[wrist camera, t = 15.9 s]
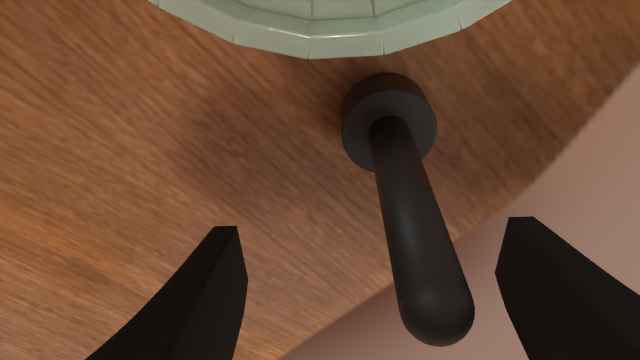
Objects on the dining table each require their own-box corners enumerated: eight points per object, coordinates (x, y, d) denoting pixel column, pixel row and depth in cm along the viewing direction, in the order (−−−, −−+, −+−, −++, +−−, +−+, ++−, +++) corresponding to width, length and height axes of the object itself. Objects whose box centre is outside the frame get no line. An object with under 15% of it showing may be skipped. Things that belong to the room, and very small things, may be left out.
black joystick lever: (431, 70, 14) (559, 272, 6) (423, 150, 16) (517, 387, 8) (339, 75, 14) (353, 279, 7) (341, 154, 16) (355, 390, 8)
